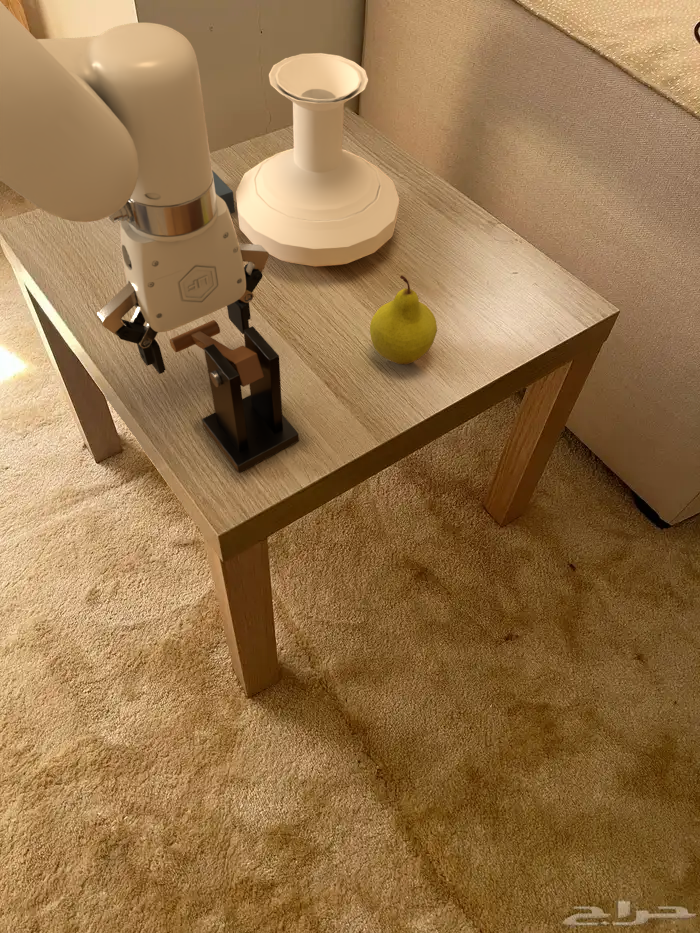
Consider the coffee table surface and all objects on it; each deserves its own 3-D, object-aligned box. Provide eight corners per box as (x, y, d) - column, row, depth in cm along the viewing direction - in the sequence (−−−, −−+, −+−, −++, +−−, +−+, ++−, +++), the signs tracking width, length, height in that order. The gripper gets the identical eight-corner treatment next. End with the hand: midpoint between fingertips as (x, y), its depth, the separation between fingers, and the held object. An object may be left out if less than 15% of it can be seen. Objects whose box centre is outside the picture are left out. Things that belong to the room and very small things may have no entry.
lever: (174, 354, 71) (166, 333, 70) (217, 335, 73) (210, 314, 71) (229, 394, 61) (220, 370, 60) (277, 370, 63) (270, 346, 62)
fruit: (402, 323, 81) (414, 235, 71) (443, 357, 78) (463, 271, 68) (356, 350, 78) (363, 263, 68) (398, 386, 75) (411, 301, 65)
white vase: (421, 265, 87) (446, 112, 71) (266, 300, 82) (255, 145, 66) (360, 174, 97) (370, 22, 81) (219, 200, 92) (200, 45, 76)
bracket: (203, 426, 71) (186, 343, 61) (262, 396, 74) (254, 312, 64) (238, 473, 68) (226, 394, 58) (299, 441, 71) (297, 360, 61)
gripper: (90, 261, 53) (137, 405, 67) (283, 187, 59) (289, 333, 73) (50, 209, 56) (103, 357, 70) (237, 144, 62) (251, 291, 77)
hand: (198, 344), depth 72 cm, fingers open, 9 cm apart
